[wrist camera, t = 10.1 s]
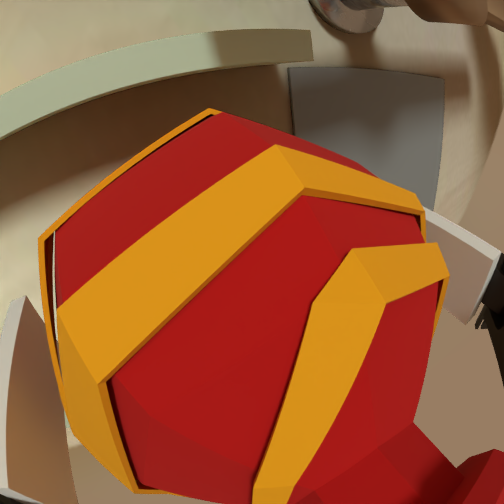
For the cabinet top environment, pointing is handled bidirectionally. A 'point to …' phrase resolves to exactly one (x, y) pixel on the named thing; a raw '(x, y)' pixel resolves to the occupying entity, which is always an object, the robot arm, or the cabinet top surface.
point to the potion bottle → (252, 325)
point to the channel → (147, 70)
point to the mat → (374, 121)
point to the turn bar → (461, 11)
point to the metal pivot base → (353, 13)
